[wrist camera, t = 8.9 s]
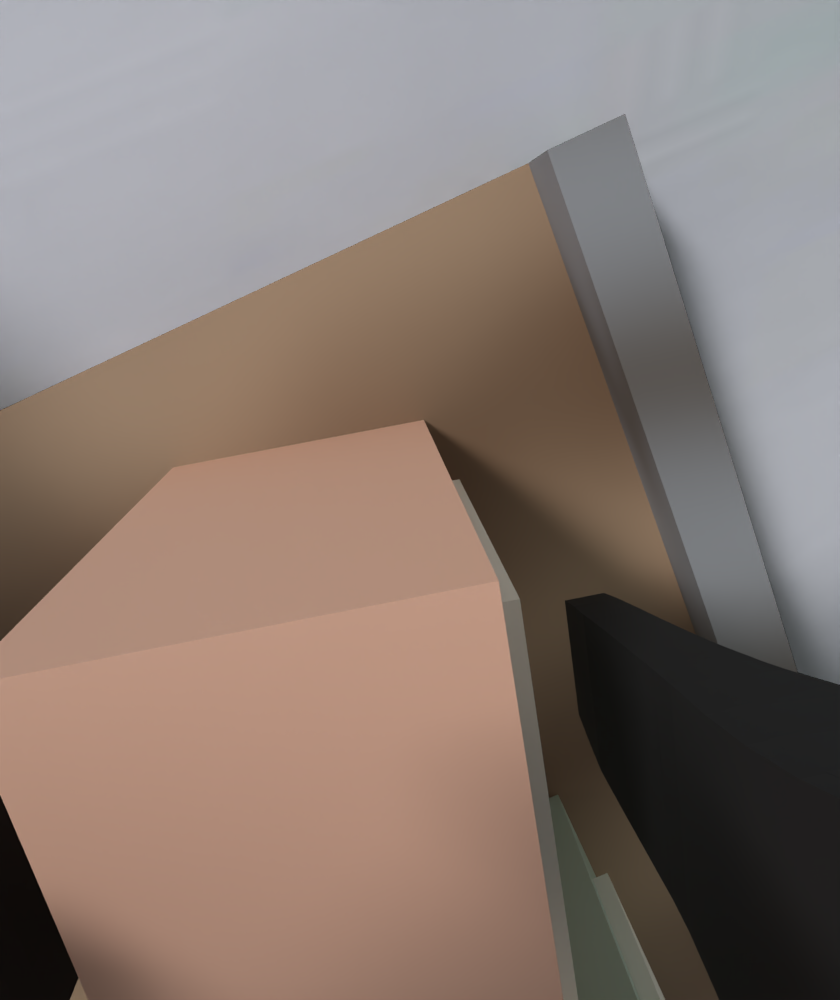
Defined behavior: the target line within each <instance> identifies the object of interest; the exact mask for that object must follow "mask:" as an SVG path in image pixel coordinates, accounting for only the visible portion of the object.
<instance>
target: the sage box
mask: <svg viewBox="0 0 840 1000" xmlns="http://www.w3.org/2000/svg"><path fill="white" fill-rule="evenodd" d="M549 802H550V809H551V816H552V823H553V830H554V837H555V843H556V850H557V857H558V864H559V871H560V878H561V885H562V891H563V898H564V905H565V912H566V919H567V926H568V933H569V940H570V946H571V953H572V960H573V967H574V974H575V981H576V988H577V994H578V1000H665V998H664V996H663V994H662V991H661V989H660V987H659V985H658V983H657V980H656V978H655V976H654V974H653V972H652V970H651V967H650V965H649V963H648V961H647V959H646V956H645V954H644V952H643V950H642V948H641V945H640V943H639V941H638V939H637V937H636V935H635V932H634V930H633V928H632V926H631V924H630V921H629V919H628V917H627V915H626V913H625V910H624V908H623V906H622V904H621V902H620V900H619V897H618V895H617V893H616V891H615V889H614V886H613V884H612V882H611V880H610V878H609V875H608V873H606V874H603V875H601V876H599V877H596V875H595V873H594V871H593V869H592V867H591V864H590V862H589V860H588V858H587V856H586V854H585V852H584V849H583V847H582V845H581V843H580V841H579V839H578V836H577V834H576V832H575V830H574V828H573V826H572V824H571V821H570V819H569V817H568V815H567V813H566V811H565V809H564V806H563V804H562V802H561V800H560V798H559V796H558V795H555V796H553V797H551V798H549Z"/></svg>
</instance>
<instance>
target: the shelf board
mask: <svg viewBox="0 0 840 1000" xmlns="http://www.w3.org/2000/svg"><path fill="white" fill-rule="evenodd" d="M421 420H424V421H425V424H426V426H427V428H428V430H429V432H430V434H431V436H432V439H433V441H434V443H435V445H436V447H437V449H438V451H439V454H440V456H441V458H442V460H443V462H444V464H445V467H446V469H447V471H448V473H449V475H450V477H451V479H452V481H453V480H458V479H460V481H461V483H462V485H463V487H464V489H465V491H466V493H467V495H468V497H469V499H470V501H471V503H472V505H473V507H474V509H475V511H476V513H477V515H478V517H479V519H480V521H481V523H482V525H483V527H484V529H485V531H486V533H487V535H488V537H489V539H490V541H491V543H492V545H493V547H494V549H495V551H496V553H497V555H498V557H499V559H500V561H501V563H502V565H503V567H504V569H505V571H506V573H507V574H508V576H509V578H510V580H511V582H512V584H513V586H514V588H515V590H516V592H517V594H518V596H519V598H520V603H521V610H522V617H523V624H524V631H525V637H526V644H527V651H528V658H529V665H530V672H531V679H532V685H533V692H534V699H535V706H536V713H537V720H538V727H539V734H540V740H541V747H542V754H543V761H544V768H545V775H546V782H547V788H548V795H549V798H551V797H553V796H555V795H558V796H559V798H560V800H561V802H562V804H563V806H564V809H565V811H566V813H567V815H568V817H569V819H570V821H571V824H572V826H573V828H574V830H575V832H576V834H577V836H578V839H579V841H580V843H581V845H582V847H583V849H584V852H585V854H586V856H587V858H588V860H589V862H590V864H591V867H592V869H593V871H594V873H595V875H596V877H599V876H601V875H603V874H606V873H608V875H609V878H610V880H611V882H612V884H613V886H614V889H615V891H616V893H617V895H618V897H619V900H620V902H621V904H622V906H623V908H624V910H625V913H626V915H627V917H628V919H629V921H630V924H631V926H632V928H633V930H634V932H635V935H636V937H637V939H638V941H639V943H640V945H641V948H642V950H643V952H644V954H645V956H646V959H647V961H648V963H649V965H650V967H651V970H652V972H653V974H654V976H655V978H656V980H657V983H658V985H659V987H660V989H661V991H662V994H663V996H664V998H665V1000H719V998H718V996H717V994H716V991H715V989H714V987H713V985H712V982H711V980H710V978H709V976H708V973H707V971H706V969H705V966H704V964H703V962H702V960H701V957H700V955H699V953H698V951H697V948H696V946H695V944H694V941H693V939H692V937H691V935H690V932H689V930H688V928H687V926H686V924H685V923H684V921H683V919H682V917H681V915H680V913H679V911H678V909H677V907H676V905H675V903H674V901H673V899H672V897H671V895H670V894H669V892H668V890H667V888H666V886H665V885H664V883H663V881H662V879H661V878H660V876H659V874H658V872H657V870H656V869H655V867H654V865H653V863H652V861H651V860H650V858H649V856H648V854H647V853H646V851H645V849H644V847H643V845H642V844H641V842H640V840H639V838H638V837H637V835H636V833H635V831H634V829H633V828H632V826H631V824H630V822H629V820H628V819H627V817H626V815H625V813H624V812H623V810H622V808H621V806H620V804H619V802H618V801H617V799H616V797H615V795H614V793H613V792H612V790H611V788H610V786H609V784H608V783H607V781H606V779H605V777H604V775H603V773H602V771H601V769H600V767H599V764H598V762H597V760H596V757H595V755H594V752H593V750H592V747H591V745H590V742H589V740H588V737H587V735H586V732H585V729H584V727H583V724H582V722H581V719H580V716H579V712H578V704H577V696H576V688H575V680H574V672H573V664H572V656H571V647H570V639H569V631H568V623H567V615H566V607H565V600H570V599H575V598H580V597H585V596H590V595H596V594H601V593H606V594H608V595H611V596H613V597H616V598H618V599H620V600H623V601H625V602H627V603H629V604H631V605H633V606H635V607H638V608H640V609H642V610H644V611H646V612H648V613H650V614H652V615H654V616H656V617H659V618H661V619H663V620H665V621H667V622H669V623H671V624H674V625H676V626H678V627H680V628H682V629H685V630H687V631H689V632H691V633H693V634H696V635H698V636H700V637H703V638H705V639H707V640H710V641H712V642H715V643H717V644H719V645H722V646H724V647H727V648H729V649H732V650H735V651H737V652H740V653H742V654H745V655H748V656H750V657H753V658H756V659H758V660H761V661H764V662H766V663H769V664H772V665H775V666H778V667H781V668H784V669H787V670H790V671H794V672H797V668H796V665H795V662H794V659H793V656H792V652H791V649H790V646H789V643H788V639H787V636H786V633H785V630H784V626H783V623H782V620H781V617H780V613H779V610H778V607H777V604H776V601H775V597H774V594H773V591H772V588H771V584H770V581H769V578H768V575H767V571H766V568H765V565H764V562H763V559H762V555H761V552H760V549H759V545H758V542H757V539H756V536H755V532H754V529H753V526H752V523H751V520H750V516H749V513H748V510H747V507H746V503H745V500H744V497H743V494H742V490H741V487H740V484H739V481H738V477H737V474H736V471H735V468H734V465H733V461H732V458H731V455H730V452H729V448H728V445H727V442H726V439H725V435H724V432H723V429H722V426H721V422H720V419H719V416H718V413H717V410H716V406H715V403H714V400H713V397H712V393H711V390H710V387H709V384H708V381H707V377H706V374H705V371H704V368H703V364H702V361H701V358H700V355H699V352H698V348H697V345H696V342H695V339H694V335H693V332H692V329H691V326H690V322H689V319H688V316H687V313H686V309H685V306H684V303H683V300H682V297H681V293H680V290H679V287H678V284H677V280H676V277H675V274H674V271H673V267H672V264H671V261H670V258H669V254H668V251H667V248H666V245H665V242H664V238H663V235H662V232H661V229H660V225H659V222H658V219H657V216H656V212H655V209H654V206H653V203H652V199H651V196H650V193H649V190H648V187H647V183H646V180H645V177H644V174H643V170H642V167H641V164H640V161H639V157H638V154H637V151H636V148H635V145H634V141H633V138H632V135H631V132H630V128H629V125H628V122H627V119H626V115H625V114H624V115H622V116H619V117H617V118H615V119H613V120H611V121H609V122H607V123H604V124H602V125H600V126H598V127H596V128H594V129H592V130H590V131H587V132H585V133H583V134H581V135H579V136H577V137H575V138H572V139H570V140H568V141H566V142H564V143H562V144H560V145H557V146H555V147H553V148H551V149H549V150H547V151H546V152H544V153H543V154H541V155H540V156H538V157H537V158H535V159H534V160H532V161H531V162H530V163H528V164H526V165H524V166H522V167H519V168H517V169H515V170H513V171H511V172H509V173H507V174H504V175H502V176H500V177H498V178H496V179H494V180H492V181H490V182H487V183H485V184H483V185H481V186H479V187H477V188H475V189H472V190H470V191H468V192H466V193H464V194H462V195H460V196H457V197H455V198H453V199H451V200H449V201H447V202H445V203H443V204H440V205H438V206H436V207H434V208H432V209H430V210H428V211H425V212H423V213H421V214H419V215H417V216H415V217H413V218H410V219H408V220H406V221H404V222H402V223H400V224H398V225H396V226H393V227H391V228H389V229H387V230H385V231H383V232H381V233H378V234H376V235H374V236H372V237H370V238H368V239H366V240H363V241H361V242H359V243H357V244H355V245H353V246H351V247H349V248H346V249H344V250H342V251H340V252H338V253H336V254H334V255H331V256H329V257H327V258H325V259H323V260H321V261H319V262H316V263H314V264H312V265H310V266H308V267H306V268H304V269H302V270H299V271H297V272H295V273H293V274H291V275H289V276H287V277H284V278H282V279H280V280H278V281H276V282H274V283H272V284H269V285H267V286H265V287H263V288H261V289H259V290H257V291H255V292H252V293H250V294H248V295H246V296H244V297H242V298H240V299H237V300H235V301H233V302H231V303H229V304H227V305H225V306H222V307H220V308H218V309H216V310H214V311H212V312H210V313H208V314H205V315H203V316H201V317H199V318H197V319H195V320H193V321H190V322H188V323H186V324H184V325H182V326H180V327H178V328H175V329H173V330H171V331H169V332H167V333H165V334H163V335H161V336H158V337H156V338H154V339H152V340H150V341H148V342H146V343H143V344H141V345H139V346H137V347H135V348H133V349H131V350H128V351H126V352H124V353H122V354H120V355H118V356H116V357H114V358H111V359H109V360H107V361H105V362H103V363H101V364H99V365H96V366H94V367H92V368H90V369H88V370H86V371H84V372H81V373H79V374H77V375H75V376H73V377H71V378H69V379H67V380H64V381H62V382H60V383H58V384H56V385H54V386H52V387H49V388H47V389H45V390H43V391H41V392H39V393H37V394H34V395H32V396H30V397H28V398H26V399H24V400H22V401H20V402H17V403H15V404H13V405H11V406H9V407H7V408H5V409H2V410H0V641H1V640H2V639H3V638H4V637H5V636H6V635H7V634H8V633H9V632H10V631H11V630H12V629H13V628H14V627H15V626H16V625H17V624H18V623H19V622H20V621H21V620H22V619H23V618H24V617H25V616H26V615H27V614H28V613H29V612H30V611H31V610H32V609H33V608H34V607H35V606H36V605H37V604H38V603H39V602H40V601H41V600H42V599H43V598H44V597H45V596H46V595H47V594H48V593H49V592H50V591H51V590H52V589H53V588H54V587H55V586H56V585H57V584H58V583H59V582H60V581H61V580H62V579H63V578H64V577H65V576H66V575H67V574H68V573H69V572H70V571H71V570H72V569H73V567H74V566H75V565H76V564H77V563H78V562H79V561H80V560H81V559H82V558H83V557H84V556H85V555H86V554H87V553H88V552H89V551H90V550H91V549H92V548H93V547H94V546H95V545H96V544H97V543H98V542H99V541H100V540H101V539H102V538H103V537H104V536H105V535H106V534H107V533H108V532H109V531H110V530H111V529H112V528H113V527H114V526H115V525H116V524H117V523H118V522H119V521H120V520H121V519H122V518H123V517H124V516H125V515H126V514H127V513H128V512H129V511H130V510H131V509H132V508H133V507H134V506H135V505H136V504H137V503H138V502H139V501H140V500H141V499H142V498H143V497H144V496H145V495H146V494H147V493H148V492H149V491H150V490H151V489H152V488H153V487H154V486H155V485H156V484H157V483H158V482H159V481H160V480H161V479H162V478H163V477H164V476H165V475H166V474H167V473H168V472H169V471H170V470H171V469H172V468H173V467H178V466H184V465H189V464H194V463H199V462H205V461H210V460H215V459H220V458H226V457H231V456H236V455H242V454H247V453H252V452H257V451H263V450H268V449H273V448H278V447H284V446H289V445H294V444H300V443H305V442H310V441H315V440H321V439H326V438H331V437H337V436H342V435H347V434H352V433H358V432H363V431H368V430H373V429H379V428H384V427H389V426H395V425H400V424H405V423H410V422H416V421H421ZM797 673H798V672H797ZM70 1000H88V998H87V996H86V994H85V991H84V989H83V987H82V984H81V982H80V980H79V978H78V980H77V983H76V985H75V988H74V991H73V993H72V996H71V998H70Z"/></svg>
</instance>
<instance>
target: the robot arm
mask: <svg viewBox="0 0 840 1000" xmlns="http://www.w3.org/2000/svg"><path fill="white" fill-rule="evenodd" d="M565 607H566V615H567V623H568V631H569V639H570V647H571V656H572V664H573V672H574V680H575V688H576V696H577V704H578V712H579V716H580V719H581V722H582V724H583V727H584V729H585V732H586V735H587V737H588V740H589V742H590V745H591V747H592V750H593V752H594V755H595V757H596V760H597V762H598V764H599V767H600V769H601V771H602V773H603V775H604V777H605V779H606V781H607V783H608V784H609V786H610V788H611V790H612V792H613V793H614V795H615V797H616V799H617V801H618V802H619V804H620V806H621V808H622V810H623V812H624V813H625V815H626V817H627V819H628V820H629V822H630V824H631V826H632V828H633V829H634V831H635V833H636V835H637V837H638V838H639V840H640V842H641V844H642V845H643V847H644V849H645V851H646V853H647V854H648V856H649V858H650V860H651V861H652V863H653V865H654V867H655V869H656V870H657V872H658V874H659V876H660V878H661V879H662V881H663V883H664V885H665V886H666V888H667V890H668V892H669V894H670V895H671V897H672V899H673V901H674V903H675V905H676V907H677V909H678V911H679V913H680V915H681V917H682V919H683V921H684V923H685V924H686V926H687V928H688V930H689V932H690V935H691V937H692V939H693V941H694V944H695V946H696V948H697V951H698V953H699V955H700V957H701V960H702V962H703V964H704V966H705V969H706V971H707V973H708V976H709V978H710V980H711V982H712V985H713V987H714V989H715V991H716V994H717V996H718V998H719V1000H840V685H838V684H834V683H831V682H828V681H824V680H821V679H818V678H814V677H811V676H807V675H804V674H801V673H797V672H794V671H790V670H787V669H784V668H781V667H778V666H775V665H772V664H769V663H766V662H764V661H761V660H758V659H756V658H753V657H750V656H748V655H745V654H742V653H740V652H737V651H735V650H732V649H729V648H727V647H724V646H722V645H719V644H717V643H715V642H712V641H710V640H707V639H705V638H703V637H700V636H698V635H696V634H693V633H691V632H689V631H687V630H685V629H682V628H680V627H678V626H676V625H674V624H671V623H669V622H667V621H665V620H663V619H661V618H659V617H656V616H654V615H652V614H650V613H648V612H646V611H644V610H642V609H640V608H638V607H635V606H633V605H631V604H629V603H627V602H625V601H623V600H620V599H618V598H616V597H613V596H611V595H608V594H606V593H601V594H596V595H590V596H585V597H580V598H575V599H570V600H565ZM78 978H79V977H78V975H77V973H76V970H75V968H74V966H73V963H72V961H71V959H70V956H69V954H68V952H67V949H66V947H65V945H64V942H63V940H62V938H61V935H60V933H59V931H58V928H57V926H56V924H55V921H54V919H53V917H52V914H51V912H50V910H49V907H48V905H47V903H46V900H45V898H44V896H43V893H42V891H41V889H40V886H39V884H38V882H37V879H36V877H35V875H34V872H33V870H32V868H31V865H30V863H29V861H28V858H27V856H26V854H25V852H24V849H23V847H22V845H21V842H20V840H19V838H18V835H17V833H16V831H15V828H14V826H13V824H12V821H11V819H10V817H9V814H8V812H7V810H6V807H5V805H4V803H3V800H2V798H1V796H0V1000H70V998H71V996H72V993H73V991H74V988H75V985H76V983H77V980H78Z"/></svg>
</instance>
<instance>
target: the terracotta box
mask: <svg viewBox="0 0 840 1000" xmlns="http://www.w3.org/2000/svg"><path fill="white" fill-rule="evenodd" d="M0 796H1V798H2V800H3V803H4V805H5V807H6V810H7V812H8V814H9V817H10V819H11V821H12V824H13V826H14V828H15V831H16V833H17V835H18V838H19V840H20V842H21V845H22V847H23V849H24V852H25V854H26V856H27V858H28V861H29V863H30V865H31V868H32V870H33V872H34V875H35V877H36V879H37V882H38V884H39V886H40V889H41V891H42V893H43V896H44V898H45V900H46V903H47V905H48V907H49V910H50V912H51V914H52V917H53V919H54V921H55V924H56V926H57V928H58V931H59V933H60V935H61V938H62V940H63V942H64V945H65V947H66V949H67V952H68V954H69V956H70V959H71V961H72V963H73V966H74V968H75V970H76V973H77V975H78V977H79V980H80V982H81V984H82V987H83V989H84V991H85V994H86V996H87V998H88V1000H578V994H577V988H576V981H575V974H574V967H573V960H572V953H571V946H570V940H569V933H568V926H567V919H566V912H565V905H564V898H563V891H562V885H561V878H560V871H559V864H558V857H557V850H556V843H555V837H554V830H553V823H552V816H551V809H550V802H549V795H548V788H547V782H546V775H545V768H544V761H543V754H542V747H541V740H540V734H539V727H538V720H537V713H536V706H535V699H534V692H533V685H532V679H531V672H530V665H529V658H528V651H527V644H526V637H525V631H524V624H523V617H522V610H521V603H520V598H519V596H518V594H517V592H516V590H515V588H514V586H513V584H512V582H511V580H510V578H509V576H508V574H507V573H506V571H505V569H504V567H503V565H502V563H501V561H500V559H499V557H498V555H497V553H496V551H495V549H494V547H493V545H492V543H491V541H490V539H489V537H488V535H487V533H486V531H485V529H484V527H483V525H482V523H481V521H480V519H479V517H478V515H477V513H476V511H475V509H474V507H473V505H472V503H471V501H470V499H469V497H468V495H467V493H466V491H465V489H464V487H463V485H462V483H461V481H460V479H458V480H453V481H452V479H451V477H450V475H449V473H448V471H447V469H446V467H445V464H444V462H443V460H442V458H441V456H440V454H439V451H438V449H437V447H436V445H435V443H434V441H433V439H432V436H431V434H430V432H429V430H428V428H427V426H426V424H425V421H424V420H421V421H416V422H410V423H405V424H400V425H395V426H389V427H384V428H379V429H373V430H368V431H363V432H358V433H352V434H347V435H342V436H337V437H331V438H326V439H321V440H315V441H310V442H305V443H300V444H294V445H289V446H284V447H278V448H273V449H268V450H263V451H257V452H252V453H247V454H242V455H236V456H231V457H226V458H220V459H215V460H210V461H205V462H199V463H194V464H189V465H184V466H178V467H173V468H172V469H171V470H170V471H169V472H168V473H167V474H166V475H165V476H164V477H163V478H162V479H161V480H160V481H159V482H158V483H157V484H156V485H155V486H154V487H153V488H152V489H151V490H150V491H149V492H148V493H147V494H146V495H145V496H144V497H143V498H142V499H141V500H140V501H139V502H138V503H137V504H136V505H135V506H134V507H133V508H132V509H131V510H130V511H129V512H128V513H127V514H126V515H125V516H124V517H123V518H122V519H121V520H120V521H119V522H118V523H117V524H116V525H115V526H114V527H113V528H112V529H111V530H110V531H109V532H108V533H107V534H106V535H105V536H104V537H103V538H102V539H101V540H100V541H99V542H98V543H97V544H96V545H95V546H94V547H93V548H92V549H91V550H90V551H89V552H88V553H87V554H86V555H85V556H84V557H83V558H82V559H81V560H80V561H79V562H78V563H77V564H76V565H75V566H74V567H73V569H72V570H71V571H70V572H69V573H68V574H67V575H66V576H65V577H64V578H63V579H62V580H61V581H60V582H59V583H58V584H57V585H56V586H55V587H54V588H53V589H52V590H51V591H50V592H49V593H48V594H47V595H46V596H45V597H44V598H43V599H42V600H41V601H40V602H39V603H38V604H37V605H36V606H35V607H34V608H33V609H32V610H31V611H30V612H29V613H28V614H27V615H26V616H25V617H24V618H23V619H22V620H21V621H20V622H19V623H18V624H17V625H16V626H15V627H14V628H13V629H12V630H11V631H10V632H9V633H8V634H7V635H6V636H5V637H4V638H3V639H2V640H1V641H0Z"/></svg>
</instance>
